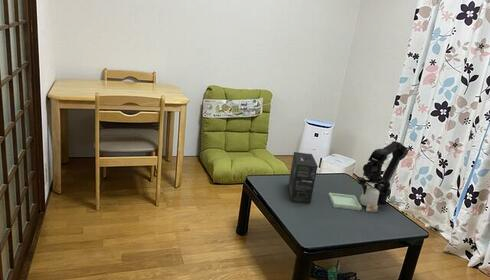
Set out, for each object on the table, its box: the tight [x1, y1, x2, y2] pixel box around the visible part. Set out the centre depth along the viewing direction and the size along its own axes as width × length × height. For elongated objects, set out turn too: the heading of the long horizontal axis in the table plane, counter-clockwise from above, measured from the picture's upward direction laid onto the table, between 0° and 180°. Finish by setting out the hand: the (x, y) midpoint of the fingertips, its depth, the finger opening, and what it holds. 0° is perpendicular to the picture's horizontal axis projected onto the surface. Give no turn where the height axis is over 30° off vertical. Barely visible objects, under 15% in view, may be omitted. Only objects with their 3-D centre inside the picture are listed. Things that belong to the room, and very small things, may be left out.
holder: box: [358, 195, 379, 213], centre depth 228 cm, size 6×14×4 cm, turn 0°
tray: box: [328, 192, 363, 211], centre depth 227 cm, size 16×16×2 cm
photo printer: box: [359, 185, 379, 207], centre depth 227 cm, size 10×4×12 cm, turn 39°
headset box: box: [288, 151, 319, 204], centre depth 228 cm, size 22×12×26 cm, turn 179°
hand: (370, 195), depth 226 cm, fingers closed on photo printer, 7 cm apart
